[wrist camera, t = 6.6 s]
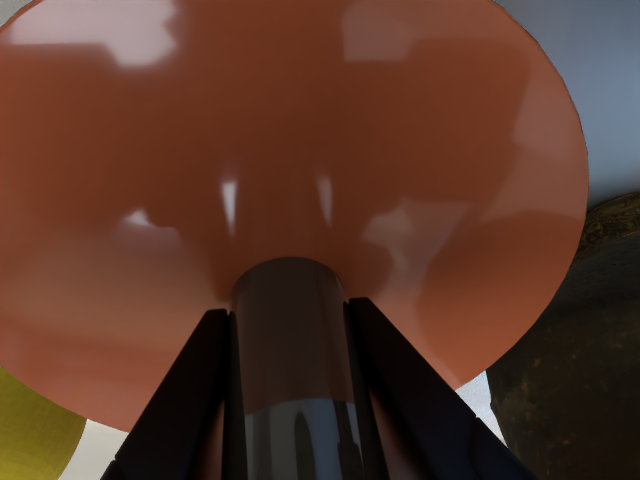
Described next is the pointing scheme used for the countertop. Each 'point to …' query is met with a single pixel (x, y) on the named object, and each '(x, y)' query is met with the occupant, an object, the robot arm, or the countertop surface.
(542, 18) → the countertop surface
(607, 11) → the countertop surface
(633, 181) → the countertop surface
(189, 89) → the lid
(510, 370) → the pottery vessel
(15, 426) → the lemon
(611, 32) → the countertop surface
